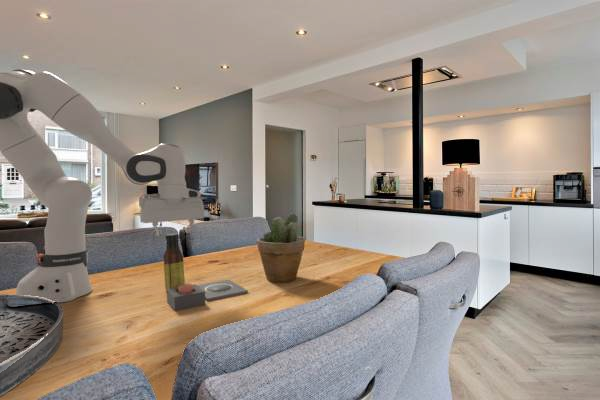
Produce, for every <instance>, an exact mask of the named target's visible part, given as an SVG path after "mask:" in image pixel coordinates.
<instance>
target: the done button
mask: <svg viewBox="0 0 600 400" xmlns="http://www.w3.org/2000/svg"><path fill="white" fill-rule="evenodd" d="M193 285H194V284H192V283H185V284H183V285H180V286H178V292H179V294H183V293H189V292H193Z"/></svg>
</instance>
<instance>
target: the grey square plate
mask: <svg viewBox="0 0 600 400" xmlns="http://www.w3.org/2000/svg"><path fill="white" fill-rule="evenodd" d="M196 285H197V286H198V287H200V288H201V289H202V290H204V291H205V302H209V301H214V300H219V299H224V298H229V297H234V296H239V295H244V294H248V292H249V290H248V289H246V288H245V287H243V286H240V285H239V284H238V283H235V282H234V281H232V280H231V279H224V280H218V281H213V282H207V283H206V282H205V283H201V284H196Z"/></svg>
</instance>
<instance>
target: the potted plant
mask: <svg viewBox="0 0 600 400" xmlns="http://www.w3.org/2000/svg"><path fill="white" fill-rule="evenodd" d="M298 220H299V218H298V215H297V214H295V213H293V212H290V213H288V214H287V216H286V219H284V218H283V217H281V216H276V217H274V218H273V219H272V223H271V227H272V228H271V230H269V231H267V232H264V234H263V235H262V237H260V238H257V239H256V243H257V251H258V252H259V255H260V256H259V257H260V260H261V264H262V267H263V270H264V274H265V278H266V280H267V281H268V282H271V283H280V284H282V283H291V282H294V281H295V280H296V278H297V275H298V272H299V268H300V265H301V261H302V259H303V258H302V256H303V251H304V250H305V244H306V243H305V242H306V241H305V240H306V238H305V237H304V236H301V235H300V236H299V235H297V231H298V228H299V227H298Z"/></svg>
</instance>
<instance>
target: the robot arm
mask: <svg viewBox="0 0 600 400" xmlns="http://www.w3.org/2000/svg"><path fill="white" fill-rule="evenodd" d="M36 110H37V111H39V112H41V114H43V115H44V116H46V117H47V118H48V119H50V120H51V121H52V122H53V123H55V124H56V126H59V128H62V129H63V130H64V131H66V132H68V133H69V134H72V135H74V137H77V138H78V139H81V140H83V141H85V142H87V143H89V144H91V145H93V146H95V147H96V148H98V149H99V150H100V151H101V152H103V153H104V154H105V155H106V156H107V157H109V158H110V159H111V160H112V161H113V162H115V163H116V164H117V165H118V166H120V167H121V170H122V171H123V173H124V175H125V177H126V179H127V180H129V182H131V183H133V184H135V185H138V186H145V185H148V184H150V183H152V182H156V183H157V191H158V192H157V193H151V194H150V193H144V194H143V195H141V196H140V197H139V198H138V206H139V207H140V213H139V214H140V216H139V217H140V218H139V220H140V221H141V222H142V223H143V224H152V227H153V228H154V230H155V233H156V236H157V237H160V236H161V237H163V230H162V229H159V228H158V226H159V223H163V222H176V221H187V222H188V225H187V227H185V228H184V229H185V233H186V234H189V233H192V227H193V225H194V223H195V220H199V219H203V218H204V217H205V206H204V201H203V200H202V199H201V197H202V194H201V193H202V192H201V191H199V190H195V189H192V188H188V187H187V181H186V178H185V175H186V171H187V170H186V159H185V153H184V151H183V149H182V148H181V147H179V146H178V145H176V144H170V143H160V144H158V145H156V146H155V147H154V148H153V147H152V148H151V149H149V150H146V151H143V152H141V153H137V152H134V151H133V150H132V149H130V148H129V147H128V146H127V145H126V144H125V143H123V142H122V141H121V140H120V139H119V138H118V137H117V136H116V135H114V134H113V132H111V131H110V129H109V127H108V126H107V124H106V122H105V120H104V118H103V116H102V114H101V112H100V111H98V109H97V108H96V107H95V106H94V105H93V103H92V102H91V101H89V99H88V98H86V97H85V96H84V95H83V94H82V93H81V92H80V91H78V90H77V89H76V88H74V87H73V86H72V85H70V84H69V83H67V81H65V80H62V79H61V78H59V76H56V75H54V74H53V73H51V72H48V71H37V72H34V71H32V70H29V69H28V70H27V69H13V70H10V71H2V72H0V154H1V155H2V156H3V157H4V158H5V159H6V160H7V161H8V162H9V164H10V165H11V166H12V167H13V168H14V169H15V170H16V171H17V173H18V174H19V175H20V176H21V178H22V179H23V180H24V182H25V184H26V185H27V186H28V187H29V189H30V191H31V192H32V193H33V194H34V195H35V197H36V199H38V201H39V202H40V203H41V204H42V206H44V207H45V208H48V211H47V218H46V225H45V227H44V233H43V234H44V251H45V253H38V254H37V255H36V260H37V266H36V267H35V268H34V269H33V270H32V271H30V272H29V273H27V274H26V275H25V276H24V277H22V278H21V279H20V280H19V281H18V283H17V286H16V289H15V294H16V295H31V296H39V297H44V298H47V299H50V300H52V301H55V302H57V303H56V304H58V303H64V302H71V301H73V300H75V299H77V298H80V297H82V296H85V295H88V294H89V293H91V292H92V291H93V287H92V284H91V282H90V278H89V277H90V276H89V273H88V264H89V262H88V260H89V259H88V250H87V249H86V221H87V215H88V210H89V204H90V203H91V200H92V198H93V192H92V189H91V187H90V186H89V184H88V183H86V182H85V181H83V180H81V179H80V178H77V177H73V176H71V177H70V176H68V175H67V174H66V173H65V171H64V170H63V168H62V166H61V164H60V163H59V160H58V157H57V155H56V153H55V152H54V150H52V149H51V147H50V146H49V145H48V143H47V142H46V141H45V140H44V139H43V138H42V136H41V135H40V133H38V131H37V130H36V129H35V128H34V127H33V126H32V125H31V123H30V121H29V119H28V113H34V112H35V111H36Z"/></svg>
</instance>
